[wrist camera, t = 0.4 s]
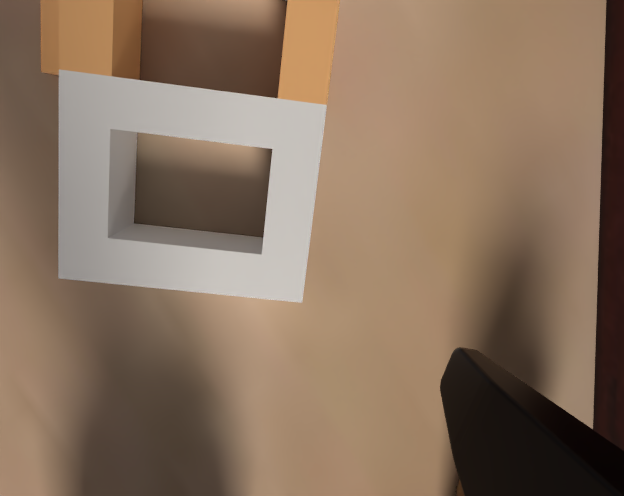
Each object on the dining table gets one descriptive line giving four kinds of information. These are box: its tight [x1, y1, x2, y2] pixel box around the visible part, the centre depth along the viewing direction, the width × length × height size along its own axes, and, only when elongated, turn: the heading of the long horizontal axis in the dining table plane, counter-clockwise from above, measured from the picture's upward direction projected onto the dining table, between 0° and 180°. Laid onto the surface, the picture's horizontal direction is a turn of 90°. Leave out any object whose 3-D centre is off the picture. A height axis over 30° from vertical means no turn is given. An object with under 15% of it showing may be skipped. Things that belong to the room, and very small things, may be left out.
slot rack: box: [41, 0, 340, 303], centre depth 20 cm, size 22×12×4 cm, turn 173°
